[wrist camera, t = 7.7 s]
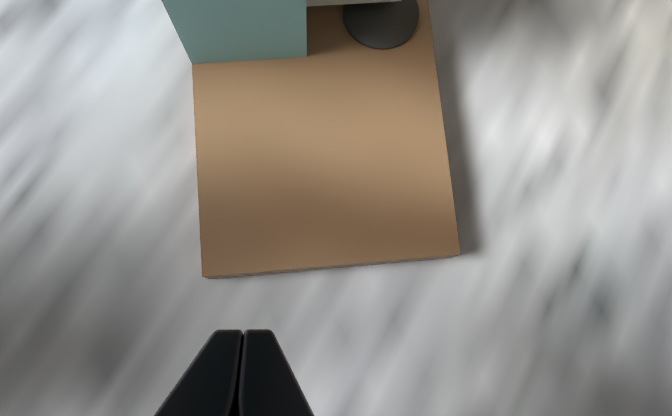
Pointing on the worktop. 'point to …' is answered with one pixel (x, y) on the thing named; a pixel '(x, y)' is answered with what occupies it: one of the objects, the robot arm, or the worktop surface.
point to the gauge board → (326, 149)
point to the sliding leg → (244, 27)
